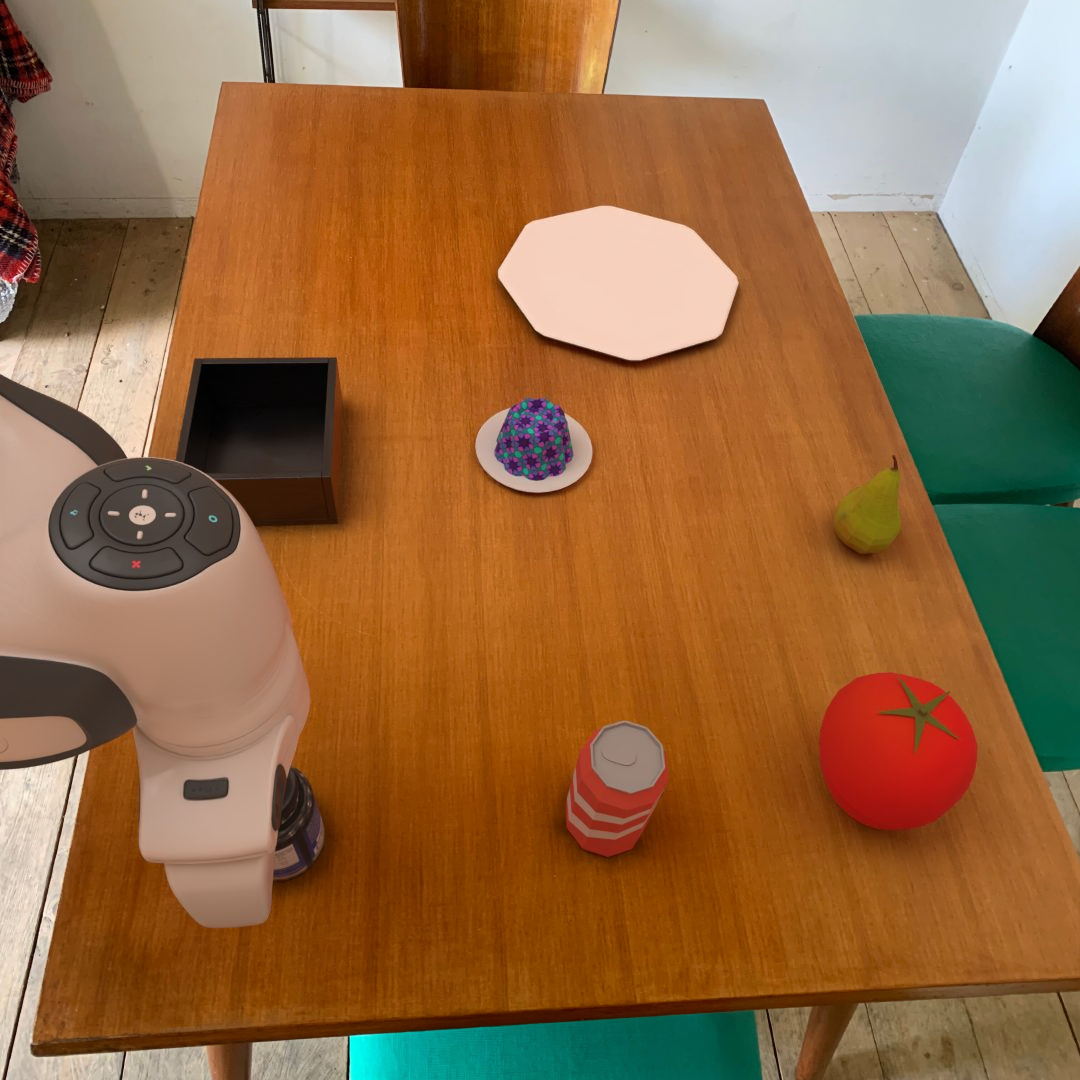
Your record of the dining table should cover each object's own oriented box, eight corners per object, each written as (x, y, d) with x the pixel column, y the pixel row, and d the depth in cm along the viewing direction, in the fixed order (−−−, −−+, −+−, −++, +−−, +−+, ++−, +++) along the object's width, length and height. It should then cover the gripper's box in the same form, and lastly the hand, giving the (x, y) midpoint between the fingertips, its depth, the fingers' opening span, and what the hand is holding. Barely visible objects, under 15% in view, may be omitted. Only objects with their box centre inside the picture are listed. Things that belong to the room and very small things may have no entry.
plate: (703, 391, 102) (706, 381, 100) (470, 324, 105) (471, 313, 104) (749, 252, 118) (752, 242, 117) (546, 198, 122) (547, 188, 120)
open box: (189, 527, 85) (171, 480, 80) (208, 407, 94) (194, 357, 89) (338, 523, 87) (330, 476, 81) (343, 406, 96) (336, 356, 91)
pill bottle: (284, 786, 71) (260, 725, 62) (343, 833, 69) (327, 776, 61) (224, 850, 68) (190, 795, 59) (284, 901, 66) (258, 851, 57)
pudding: (508, 395, 99) (511, 358, 95) (609, 436, 96) (617, 400, 92) (453, 468, 92) (453, 432, 88) (561, 514, 90) (566, 479, 85)
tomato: (950, 850, 72) (1031, 787, 62) (817, 857, 71) (879, 795, 61) (904, 718, 79) (971, 643, 69) (783, 723, 78) (833, 647, 68)
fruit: (897, 563, 89) (950, 483, 80) (837, 568, 88) (884, 488, 79) (872, 511, 93) (921, 429, 83) (815, 516, 92) (857, 434, 82)
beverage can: (575, 771, 74) (593, 703, 64) (651, 795, 73) (682, 730, 64) (554, 842, 70) (570, 782, 61) (634, 869, 70) (664, 812, 60)
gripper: (189, 542, 56) (235, 654, 67) (131, 887, 44) (199, 955, 55) (296, 538, 56) (323, 650, 67) (267, 878, 44) (307, 946, 55)
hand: (267, 789), depth 61 cm, fingers open, 8 cm apart
